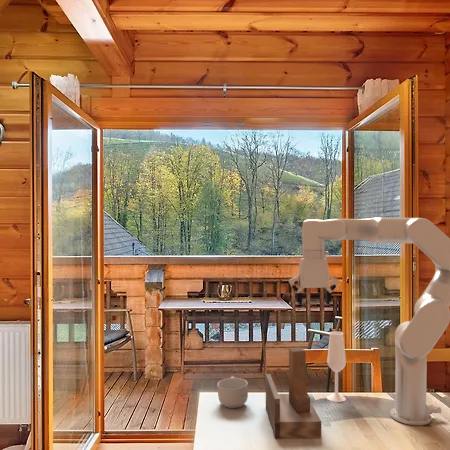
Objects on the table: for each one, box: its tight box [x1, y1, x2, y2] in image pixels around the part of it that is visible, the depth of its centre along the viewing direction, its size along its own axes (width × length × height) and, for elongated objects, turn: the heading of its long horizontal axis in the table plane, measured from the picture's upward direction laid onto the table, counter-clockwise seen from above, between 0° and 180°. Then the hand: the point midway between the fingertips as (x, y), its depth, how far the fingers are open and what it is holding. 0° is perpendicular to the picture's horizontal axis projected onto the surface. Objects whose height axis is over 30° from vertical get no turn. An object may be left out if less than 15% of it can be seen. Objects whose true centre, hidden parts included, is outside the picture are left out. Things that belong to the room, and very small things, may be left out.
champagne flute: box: [326, 331, 347, 403], centre depth 168 cm, size 7×7×24 cm
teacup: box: [216, 376, 249, 409], centre depth 164 cm, size 14×11×8 cm
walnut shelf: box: [265, 373, 322, 440], centre depth 149 cm, size 14×22×12 cm, turn 2°
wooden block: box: [288, 347, 311, 412], centre depth 149 cm, size 9×4×18 cm, turn 9°
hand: (313, 303), depth 160 cm, fingers open, 9 cm apart
